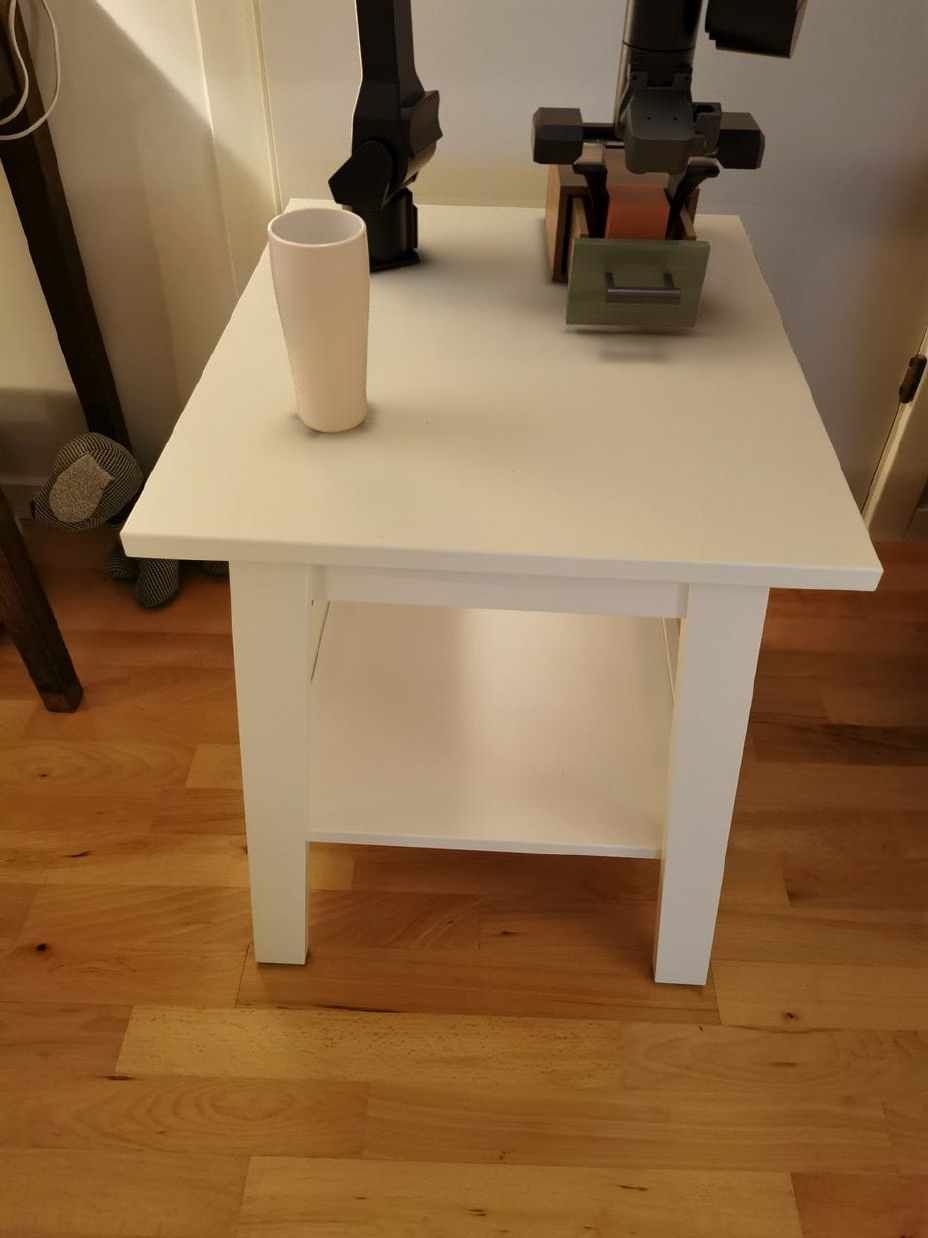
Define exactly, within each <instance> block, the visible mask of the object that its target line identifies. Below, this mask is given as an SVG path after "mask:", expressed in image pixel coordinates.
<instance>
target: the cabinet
mask: <svg viewBox="0 0 928 1238" xmlns="http://www.w3.org/2000/svg"><path fill="white" fill-rule="evenodd" d="M604 158H605V162H606V166H607V170H608V173H607V181H606V184H607V183H608V184H648V185H662V186H663V188H664V191H665V194H666V189H667V185H668V180H669V176H670V175H669V174H668V173H656V172H647V173H645V174H634V173H632V172H630V171H628V169H627V168H626V166H625V149H606V150H605V154H604ZM700 192H701V188H700V186H699V185H698V186H697V187H696V188H695V190H694V191H693V192H692V194H691V195H690V197H689V198H688V200H687V201H686V203H685V207H686V210H687V212H688V215H689V217H690V220H691V222H692V225H693V226H694V224H695V219H696V213H697V207H698V202H699V197H700ZM570 195H590V192H589V189H588V186H587V183H586V180H585V178H584V175H578V174H574V173H572V171H571V167H570V165H555V164H548V174H547V186H546V200H545V209H544V210H545V211H544V213H545V214H544V229H545V235H546V236H545V237H546V245H547V252H548V261H549V270H550V278H551V283H562V284H563V283H564V284H565V283H567V284H568V276H567V270H566V263H565V256H564V255H565V244H566V234H567V223H568V213H569V202H570Z"/></svg>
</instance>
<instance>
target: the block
mask: <svg viewBox="0 0 928 1238" xmlns="http://www.w3.org/2000/svg"><path fill="white" fill-rule="evenodd" d="M669 212H670V205H669V202H668V200H667V197H666V194H665V191H664V188H663V186H662V185H648V184H608V183H607V184H606V229H605V235H604V238H607V239H648V240H665V236H666V230H667V224H668V218H669Z"/></svg>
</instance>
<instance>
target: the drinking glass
mask: <svg viewBox="0 0 928 1238" xmlns="http://www.w3.org/2000/svg"><path fill="white" fill-rule="evenodd" d="M267 236H268V251H269V252H268V253H269V261H270V270H271V278H272V284H273V290H274V295H275V300H276V305H277V311H278V315H279V319H280V324H281V329H282V333H283V339H284V342H285V347H286V352H287V353H286V354H287V358H288V361H289V362H288V363H289V367H290V372H291V377H292V382H293V386H294V391H295V399H296V407H297V414H298V416H299V418H300V421H301V422H302V423H304V425H305V426H307V427H308V428H310V429H312V430H314V431H318V432H321V433H340V432H346V431H349V430H351V429H353V428H355V427H357V426H358V425H360V424H361V423H362V422H363V421H364V419H365V418H366V416H367V412H368V398H367V397H368V396H367V378H368V377H367V376H368V375H367V374H368V347H369V345H368V344H369V343H368V342H369V322H370V321H369V318H370V296H371V295H370V292H371V271H370V268H369V252H368V241H367V231H366V224H365V222H364V220H363V219H362V218H361V217H359V216H358V215H356V214H354V213H352V212H349V211H346V210H342V208H337V207H330V206H329V207H328V206H311V207H302V208H296V209H293V210H289V211H286V212H283V213H281V214H279V215H277V216H276V217H274V218H273V219H272V220H271V221H270V222H269V224H268V226H267Z"/></svg>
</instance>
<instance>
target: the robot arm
mask: <svg viewBox="0 0 928 1238" xmlns="http://www.w3.org/2000/svg"><path fill="white" fill-rule="evenodd" d="M808 2H809V0H707V5H706V11H705V16H704V33H705V34H708V40H709V41H714V44H715V51H723V52H730V53H739V54H746V55H755V56H762V57H770V58H778V59H779V58H780V59H786V60H791V59H792V58H793V55H794V53H795V50H796V47H797V44H798V40H799V38H800V33H801V31H802V25H803V23H804V19H805V16H806V15H805V14H806V10H807V6H808ZM703 6H704V0H626V6H625V13H624V14H625V15H624V22H623V31H622V38H621V39H622V40H621V46H620V47H621V48H620V55H619V56H620V58H619V64H618V71H617V72H618V73H617V82H616V89H615V96H614V97H615V98H614V107H613V115H612V122H584V121H583V116H582V112H581V108H580V107H551V106H550V107H549V106H547V107H545V106H541V107H540V106H539V107H538V109H537V110H536V111H535V112H534V113H533V114H532V117H531V118H532V119H531V129H530V130H531V131H530V145H531V154H532V155H531V156H532V162H533V163H536V164H539V165H549V164H555V165H570V167H571V171H572V173H574V174H578V175H584V178H585V180H586V183H587V186H588V189H589V192H590V195H591V199H592V204H593V210H594V215H595V221H596V226H597V232H598V237H599V238H604V235H605V229H606V181H607V173H608V170H607V166H606V162H605V158H604V154H605V150H606V149H625V166H626V168H627V169H628V171H630V172H632V173H634V174H645V173H647V172H656V173H668V174H669V175H670V176H669V180H668V185H667V189H666V197H667V200H668V202H669V205H670V212H669V218H668V224H667V230H666V236H665V240H666V238H667V236H668V234H669V232H670V230H671V229H672V227H673V225H674V223H675V221H676V219H677V217H678V216H679V214H680V212H681V210H682V208H683V206H684V205H685V203H686V201H687V200H688V198H689V197H690V195H691V194H692V192H693V191H694V190H695V188H696V187H697V186H699V185H701V184H702V183H704V181H706V180H707V179H715V178H717V177H718V176H719V175H720V173H721V170H720V167H719V165H718V163H719V164H720V166H721V167H722V168H723V169H724V170H754V171H755V170H758V169H760V168H761V167H762V162H763V157H764V153H765V150H766V149H765V148H766V135H765V133H764V131H762V129H761V127H760V126H759V124H758V123H757V121H756V119H755V118H754V116H753V115H752V113H751V112H744V111H743V112H742V111H741V112H740V111H723V108H722V103H721V102H714V101H713V102H712V101H693V95H692V82H693V72H694V67H693V65H694V61H695V55H696V54H695V52H696V47H697V41H698V36H699V28H700V24H701V17H702V13H703V12H702V11H703ZM354 8H355V18H356V19H355V20H356V28H357V29H356V31H357V38H358V39H357V40H358V49H359V51H358V52H359V62H360V71H361V73H360V74H361V76H360V84H359V87H358V91H357V94H356V95H357V96H356V100H355V103H354V106H353V107H354V108H353V111H352V115H351V130H350V131H351V132H350V133H351V134H350V136H351V137H350V157H348V159H347V160H345V162H344V163H343V164H342V165H341V166H340V167H339V168H338V169H337V170H336V171H335V172H334V174H332V175H331V176H330V177H329V178H328V180H327V183H328V187H329V190H330V192H331V195H332V198H333V201H334V203H335V204H336V205H341V209H342V210H346V211H349V212H352V213H354V214H356V215H358V216H359V217H361V218H362V219H363V220H364V222H365V224H366V231H367V241H368V252H369V268H370V272H371V271H376V270H383V269H387V268H394V267H400V266H405V265H410V264H411V265H412V264H416V263H420V262H421V255H420V254H419V253H418V252H417V249H418V247H419V208H418V207H417V206H416V204H414V193H413V191H411V190H410V188H408V187H409V186H410V185H411V184H413V183H415V182H416V181H417V180H418V177H419V174H420V171H421V169H423V168H424V167H425V166H427V164H428V163H429V162H430V160H432V159H433V157H434V156H435V153H436V150H437V143H438V141H439V140H440V139H442V138H443V137H444V134H443V131H442V128H441V125H440V118H439V110H440V103H441V98H440V97H441V96H440V91H439V90H438V89H434V90H433V89H432V90H425V88H424V86H423V83H422V81H421V80H420V77H419V75H418V72H417V70H416V63H415V46H414V32H413V16H412V15H413V13H412V0H354Z"/></svg>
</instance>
